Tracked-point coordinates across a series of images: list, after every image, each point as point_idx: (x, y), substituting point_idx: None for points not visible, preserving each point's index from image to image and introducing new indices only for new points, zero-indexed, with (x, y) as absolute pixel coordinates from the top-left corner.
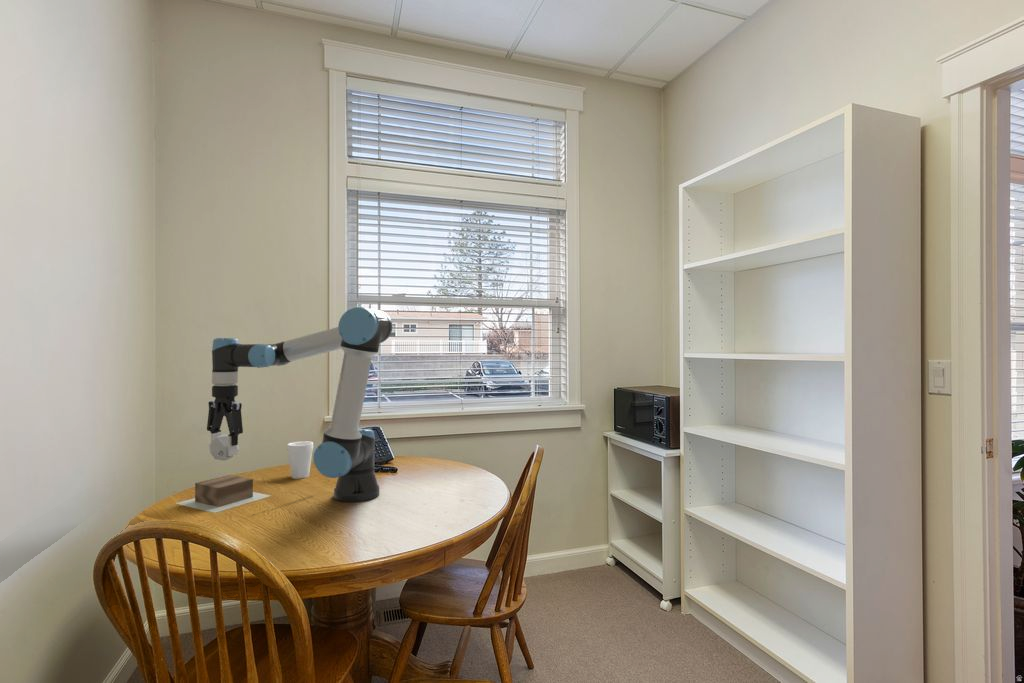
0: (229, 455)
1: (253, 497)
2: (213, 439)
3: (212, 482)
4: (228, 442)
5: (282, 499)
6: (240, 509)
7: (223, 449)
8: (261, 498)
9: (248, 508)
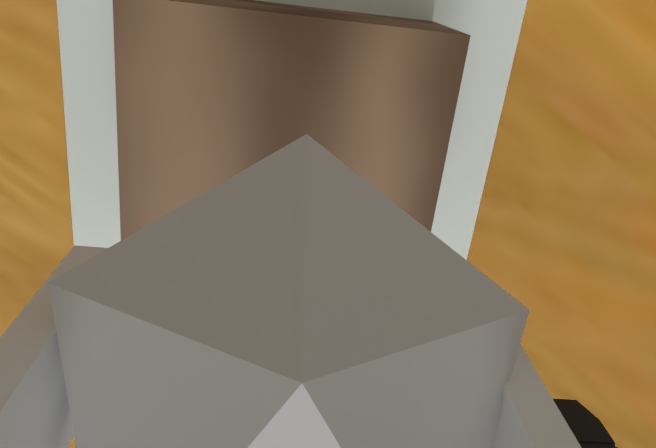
0: (73, 252)
1: None
2: (518, 420)
3: (342, 113)
4: (8, 378)
5: (10, 310)
6: (43, 64)
7: (108, 251)
8: (76, 244)
9: (16, 101)
